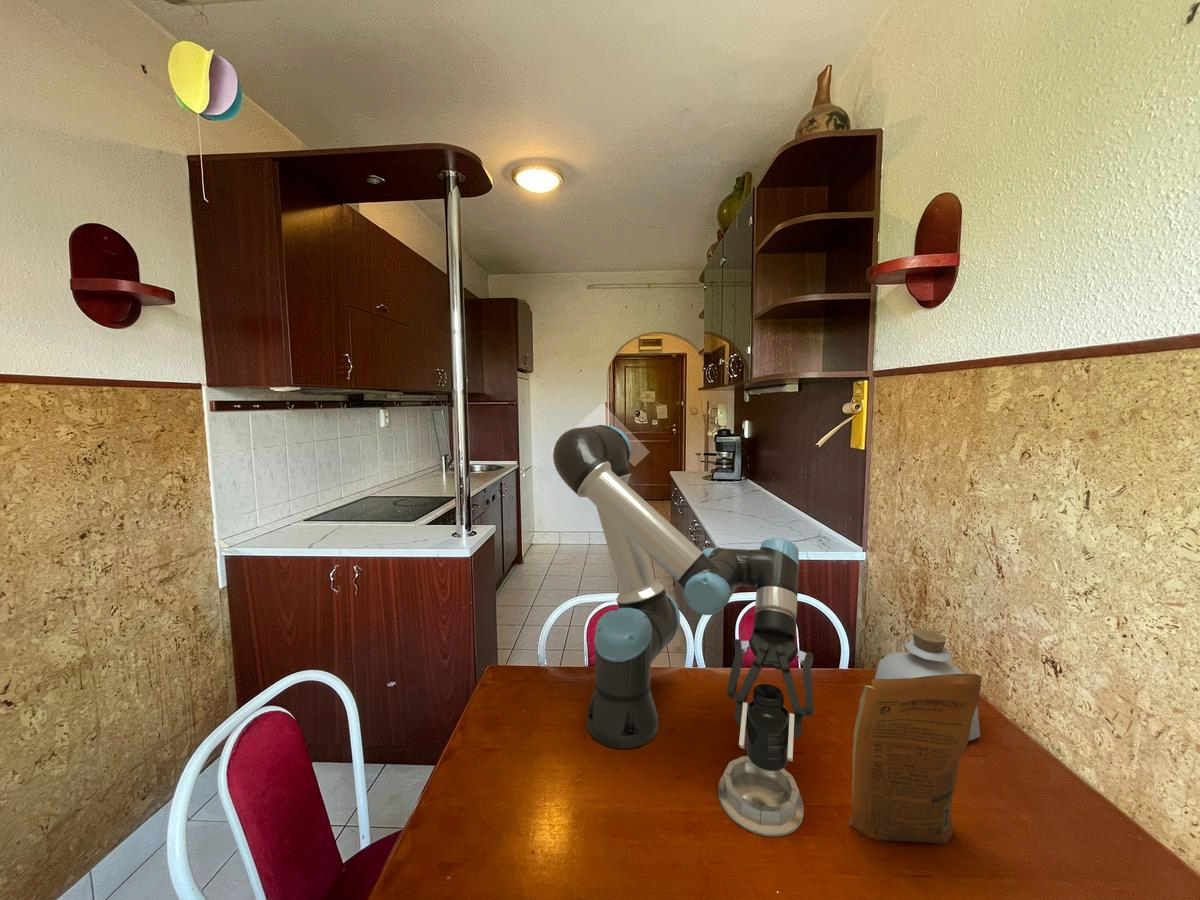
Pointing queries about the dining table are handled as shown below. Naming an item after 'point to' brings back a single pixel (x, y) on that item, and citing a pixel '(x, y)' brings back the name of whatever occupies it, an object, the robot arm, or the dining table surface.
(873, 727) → the pancake mix bag
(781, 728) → the supplement bottle
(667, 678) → the dining table surface
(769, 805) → the silver bowl
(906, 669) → the bottle
